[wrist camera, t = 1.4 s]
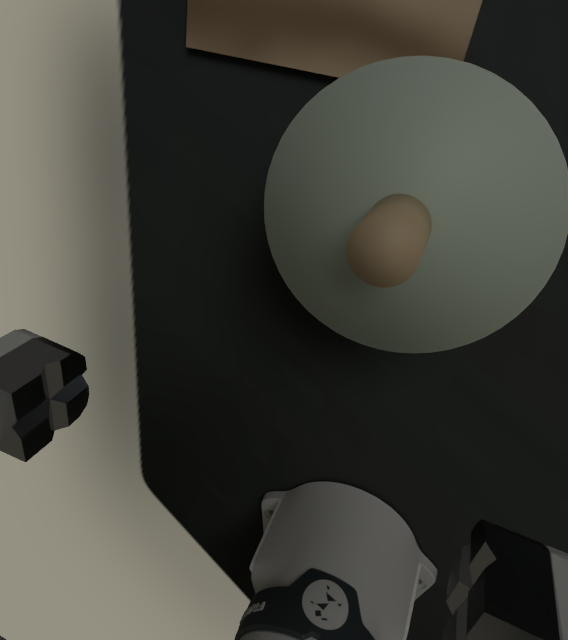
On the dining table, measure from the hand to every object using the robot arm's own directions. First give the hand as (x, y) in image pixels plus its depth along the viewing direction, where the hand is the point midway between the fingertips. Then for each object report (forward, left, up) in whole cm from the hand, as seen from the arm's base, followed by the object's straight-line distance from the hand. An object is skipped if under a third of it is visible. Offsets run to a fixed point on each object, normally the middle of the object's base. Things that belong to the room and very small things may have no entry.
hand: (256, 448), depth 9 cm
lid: (0, 0, -17) cm, 17 cm away
